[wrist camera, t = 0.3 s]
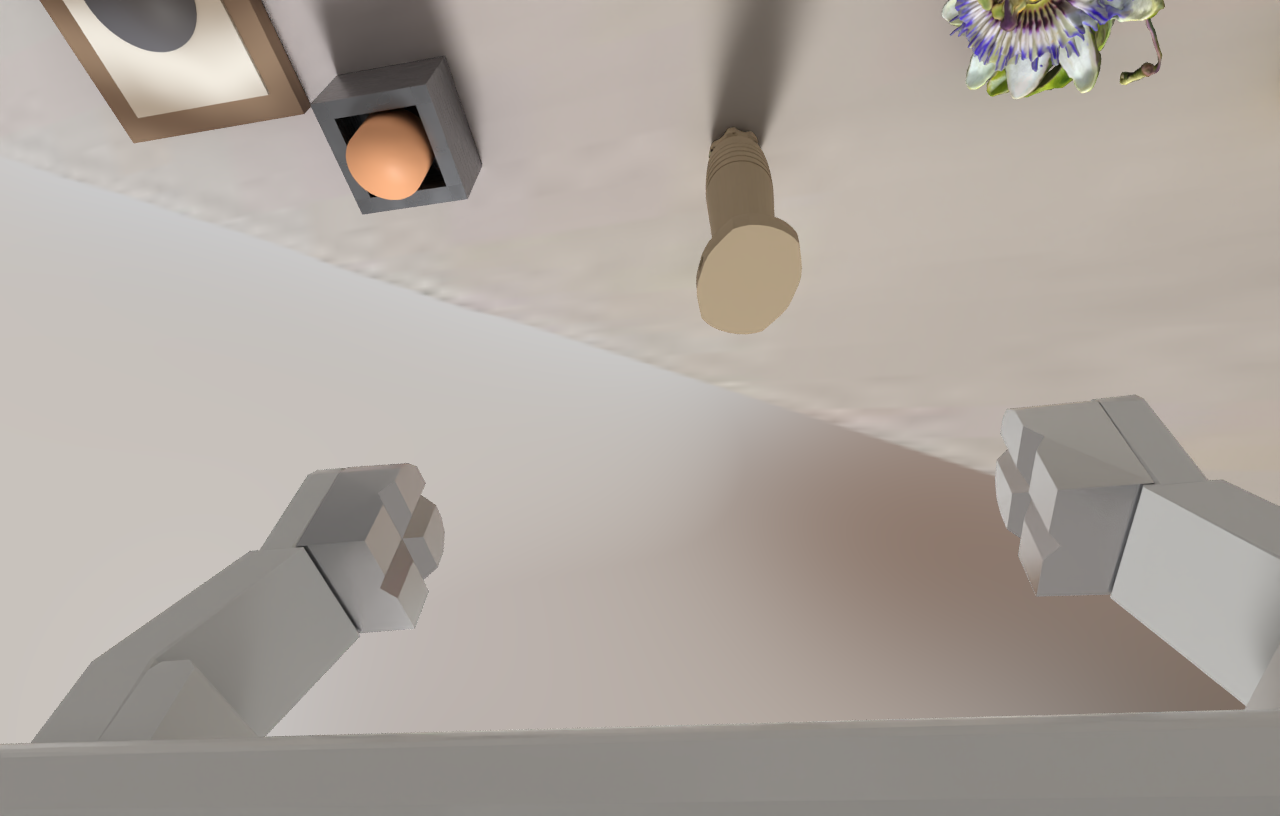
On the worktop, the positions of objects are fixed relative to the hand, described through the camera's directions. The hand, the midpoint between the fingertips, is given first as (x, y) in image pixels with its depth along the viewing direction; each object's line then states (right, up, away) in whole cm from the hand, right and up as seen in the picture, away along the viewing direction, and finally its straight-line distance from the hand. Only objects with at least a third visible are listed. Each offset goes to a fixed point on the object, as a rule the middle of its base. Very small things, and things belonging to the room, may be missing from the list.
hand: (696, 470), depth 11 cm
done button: (-15, +17, +35) cm, 42 cm away
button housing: (-15, +19, +37) cm, 44 cm away
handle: (+5, +18, +38) cm, 42 cm away
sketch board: (-29, +25, +32) cm, 50 cm away
